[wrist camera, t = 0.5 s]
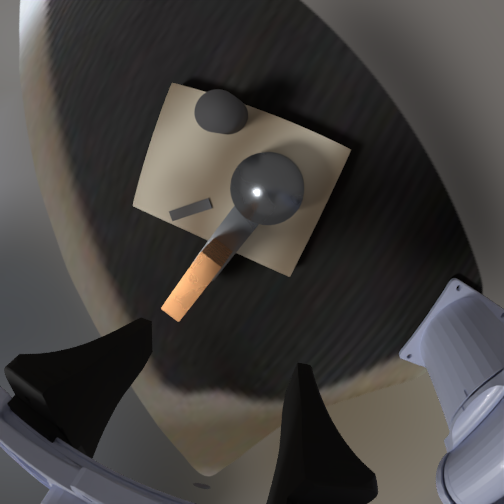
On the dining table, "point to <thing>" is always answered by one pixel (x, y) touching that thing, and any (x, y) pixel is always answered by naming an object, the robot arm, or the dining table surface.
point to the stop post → (220, 112)
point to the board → (222, 168)
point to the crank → (242, 220)
